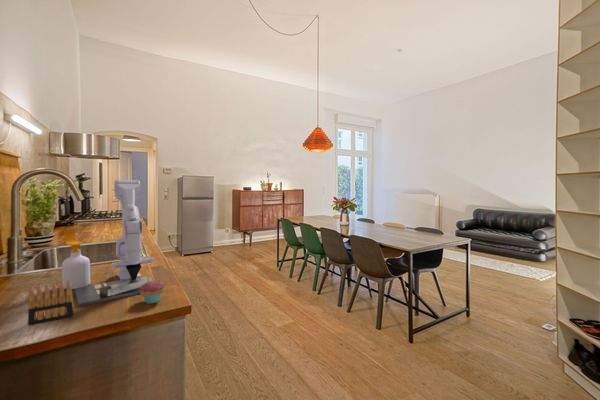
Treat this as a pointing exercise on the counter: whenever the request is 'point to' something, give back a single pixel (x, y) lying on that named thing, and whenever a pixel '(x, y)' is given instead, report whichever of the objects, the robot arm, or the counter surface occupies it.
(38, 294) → the ammunition clip
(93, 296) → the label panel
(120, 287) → the white long bar
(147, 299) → the cupcake
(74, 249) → the soap bottle
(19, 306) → the counter surface
